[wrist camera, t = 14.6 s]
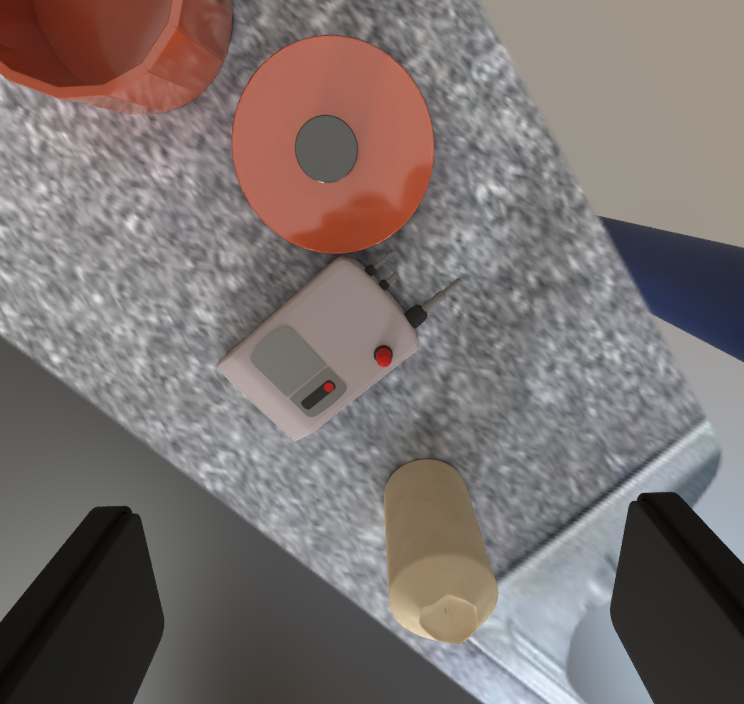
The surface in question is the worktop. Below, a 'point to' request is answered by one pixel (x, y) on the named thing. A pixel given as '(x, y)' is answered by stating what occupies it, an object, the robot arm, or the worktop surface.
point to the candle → (436, 554)
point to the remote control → (326, 346)
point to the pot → (115, 50)
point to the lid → (333, 144)
